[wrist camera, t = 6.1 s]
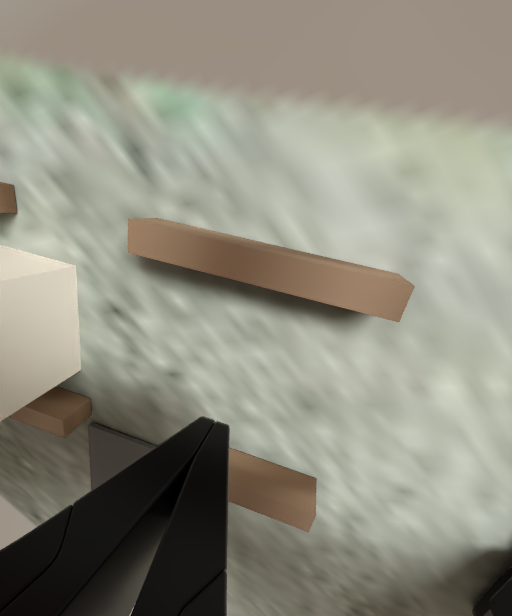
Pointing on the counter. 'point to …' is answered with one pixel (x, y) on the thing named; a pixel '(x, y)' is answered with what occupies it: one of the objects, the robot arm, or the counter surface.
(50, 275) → the block
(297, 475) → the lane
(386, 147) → the counter surface
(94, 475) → the mat
